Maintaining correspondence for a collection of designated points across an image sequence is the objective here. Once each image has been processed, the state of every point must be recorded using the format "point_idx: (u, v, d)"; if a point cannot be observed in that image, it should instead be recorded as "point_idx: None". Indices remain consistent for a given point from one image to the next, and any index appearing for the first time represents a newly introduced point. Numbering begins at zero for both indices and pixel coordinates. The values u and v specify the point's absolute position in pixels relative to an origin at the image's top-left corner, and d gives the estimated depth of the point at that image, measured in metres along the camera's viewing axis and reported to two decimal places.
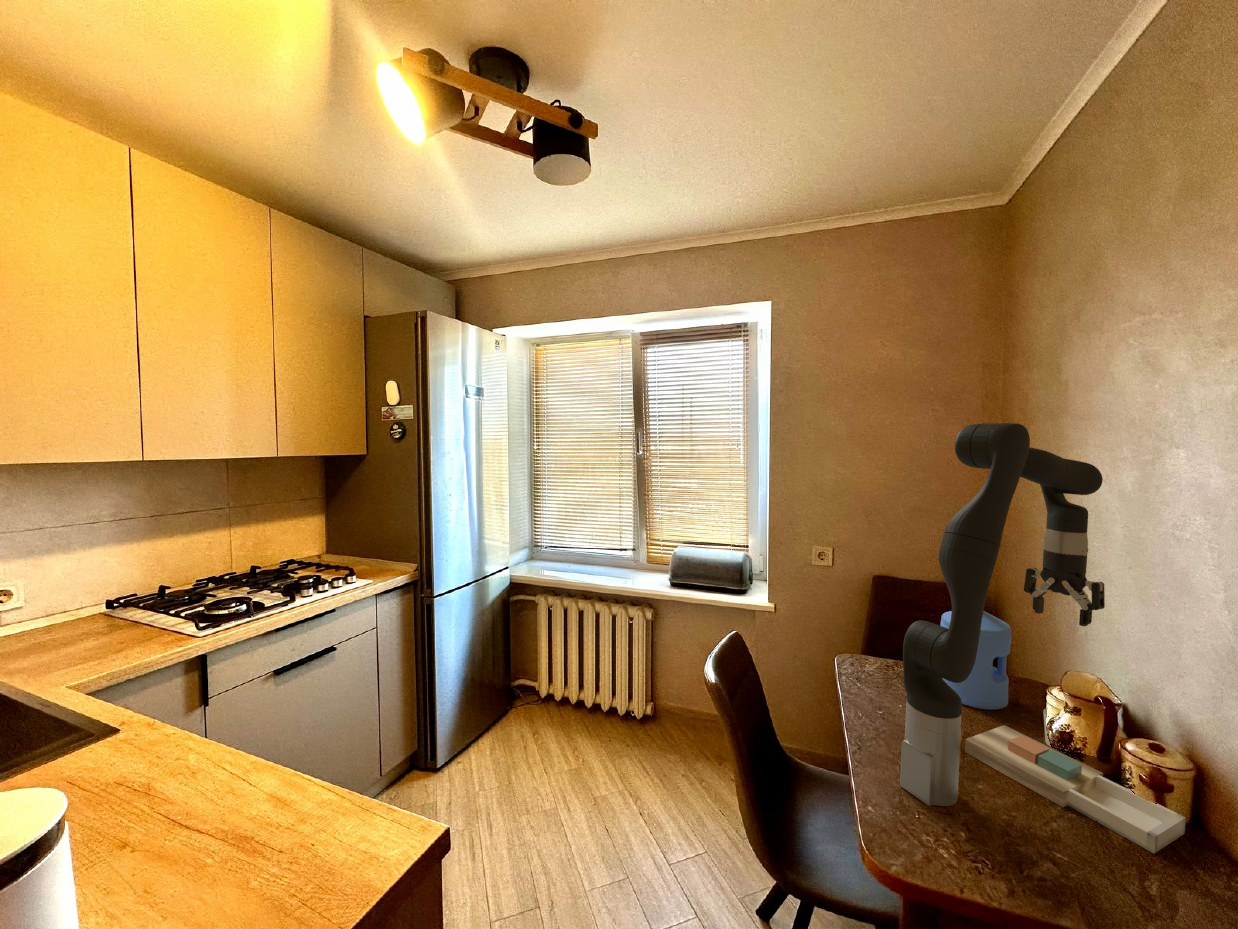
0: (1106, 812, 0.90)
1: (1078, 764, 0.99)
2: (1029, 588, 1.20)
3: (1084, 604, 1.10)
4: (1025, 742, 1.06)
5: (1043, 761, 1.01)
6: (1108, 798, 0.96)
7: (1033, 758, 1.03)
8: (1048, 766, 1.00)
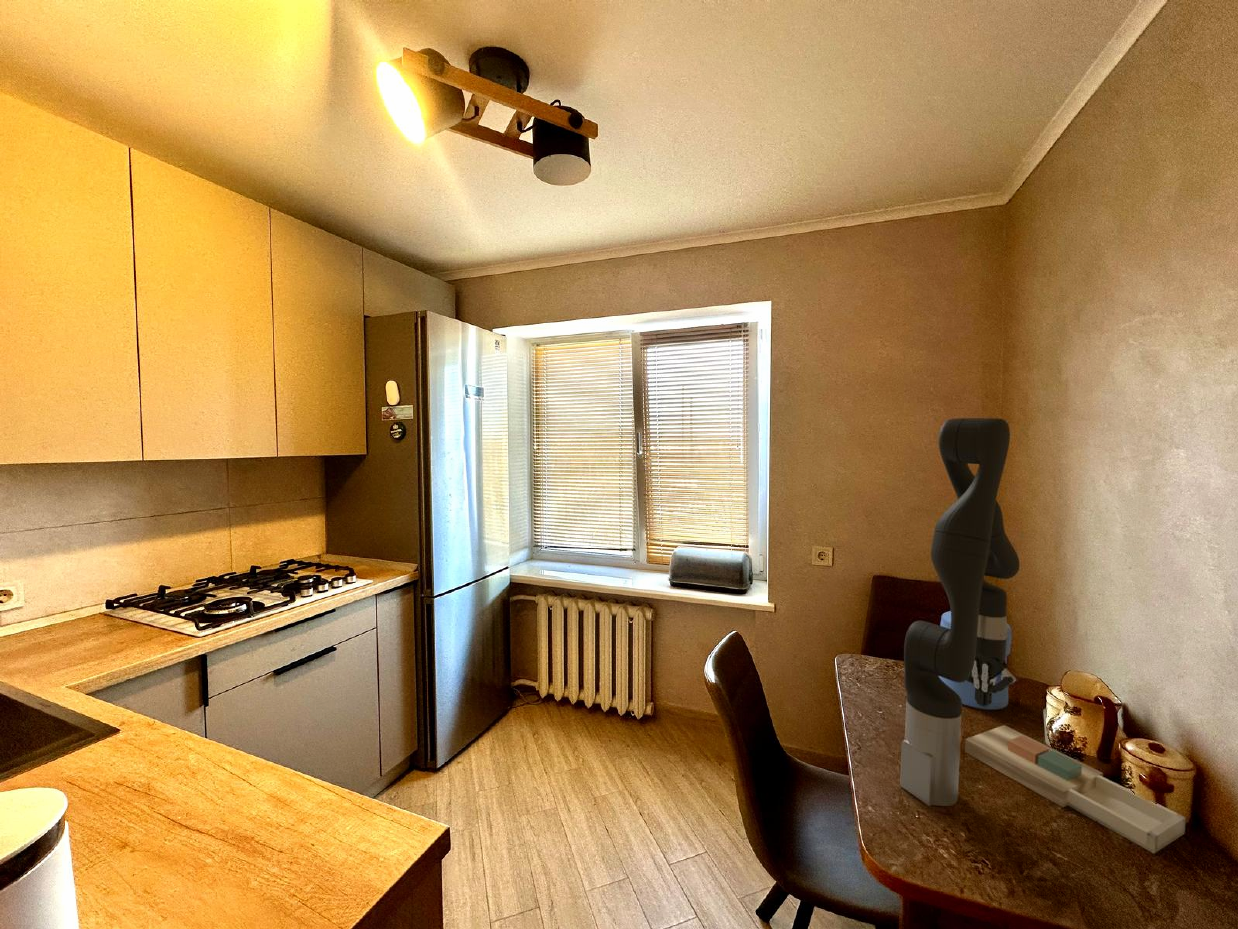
0: (1106, 812, 0.90)
1: (1078, 764, 0.99)
2: (969, 676, 1.16)
3: (984, 686, 1.13)
4: (1025, 742, 1.06)
5: (1043, 761, 1.01)
6: (1108, 798, 0.96)
7: (1033, 758, 1.03)
8: (1048, 766, 1.00)
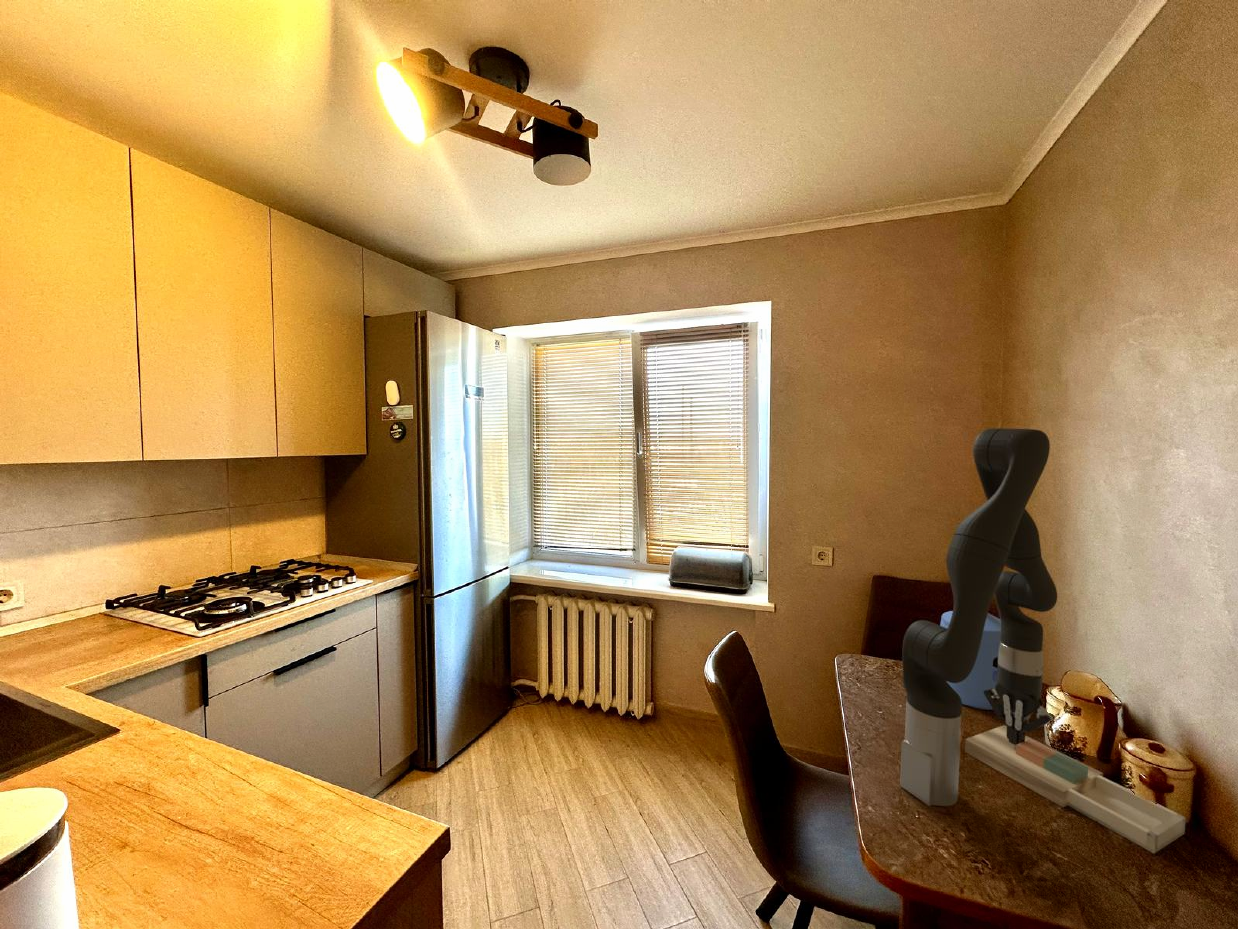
0: (1106, 812, 0.90)
1: (1084, 767, 0.98)
2: (1000, 712, 1.09)
3: (1017, 724, 1.06)
4: (1033, 746, 1.05)
5: (1049, 764, 1.00)
6: (1108, 798, 0.96)
7: (1042, 762, 1.01)
8: (1054, 769, 0.99)
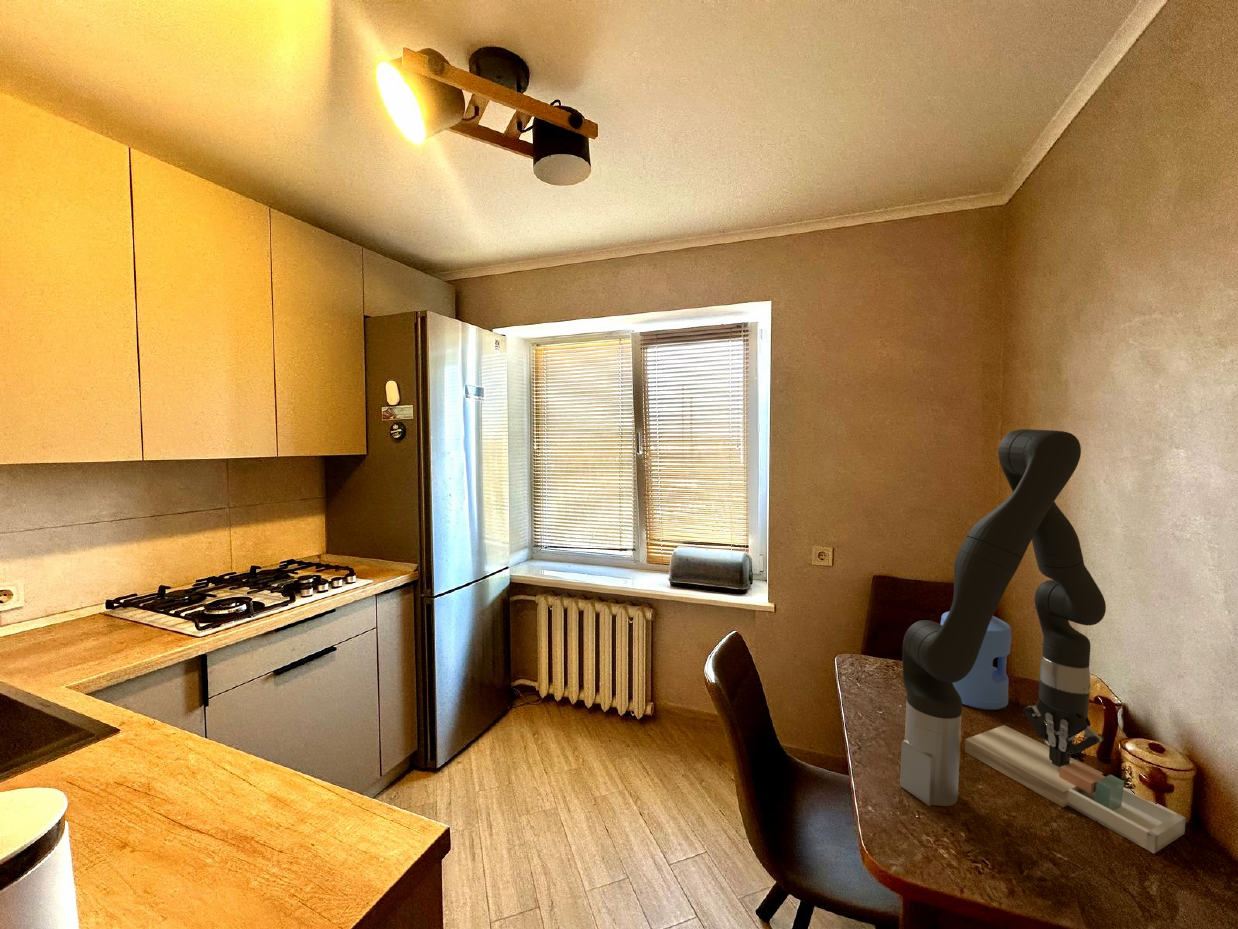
0: (1106, 812, 0.90)
1: (1120, 806, 0.94)
2: (1042, 732, 1.02)
3: (1061, 744, 0.99)
4: (1079, 769, 0.98)
5: (1106, 791, 0.92)
6: None
7: (1088, 787, 0.94)
8: (1101, 793, 0.93)
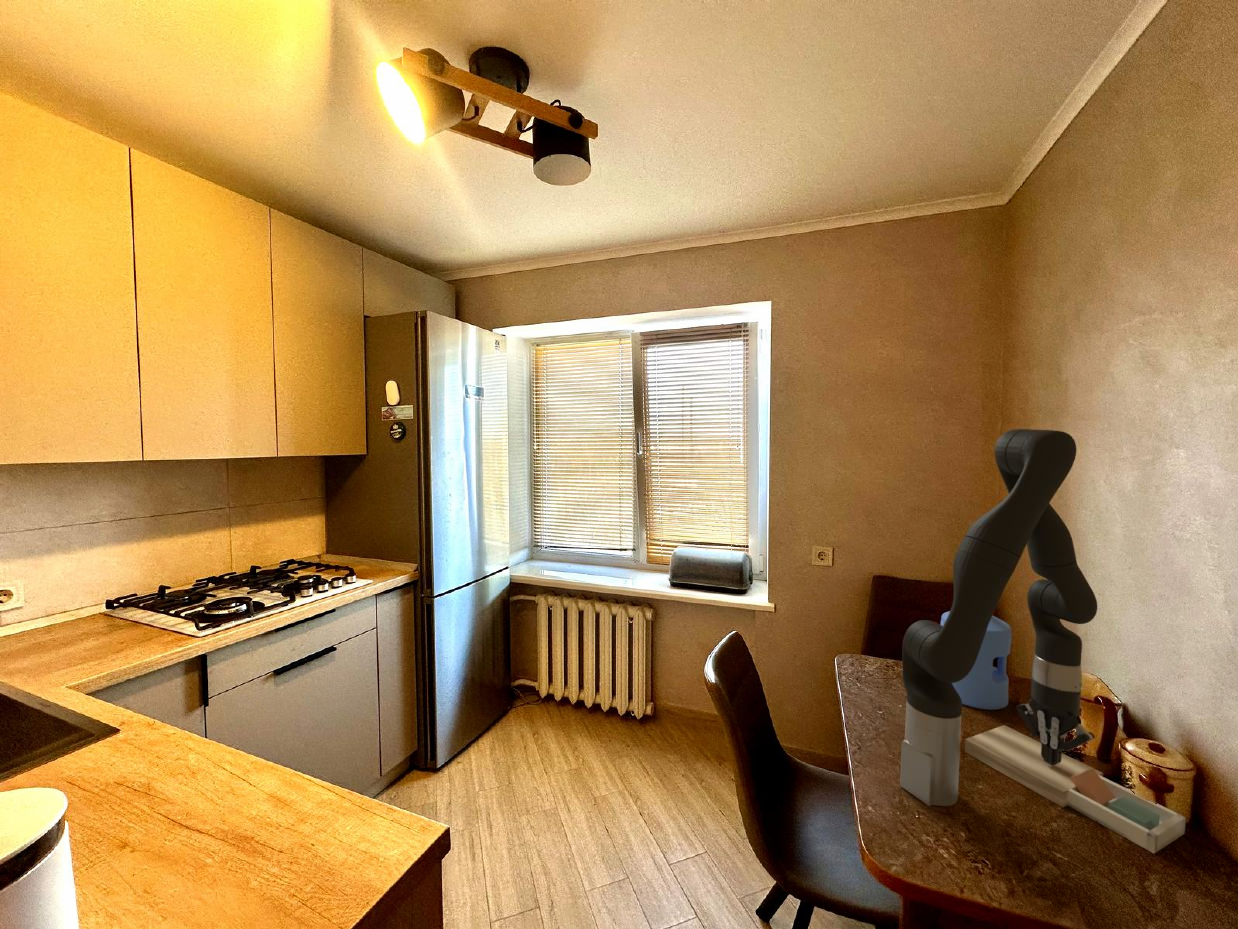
0: (1106, 812, 0.90)
1: None
2: (1034, 729, 1.03)
3: (1053, 742, 1.00)
4: (1094, 781, 0.95)
5: None
6: None
7: None
8: (1131, 820, 0.89)
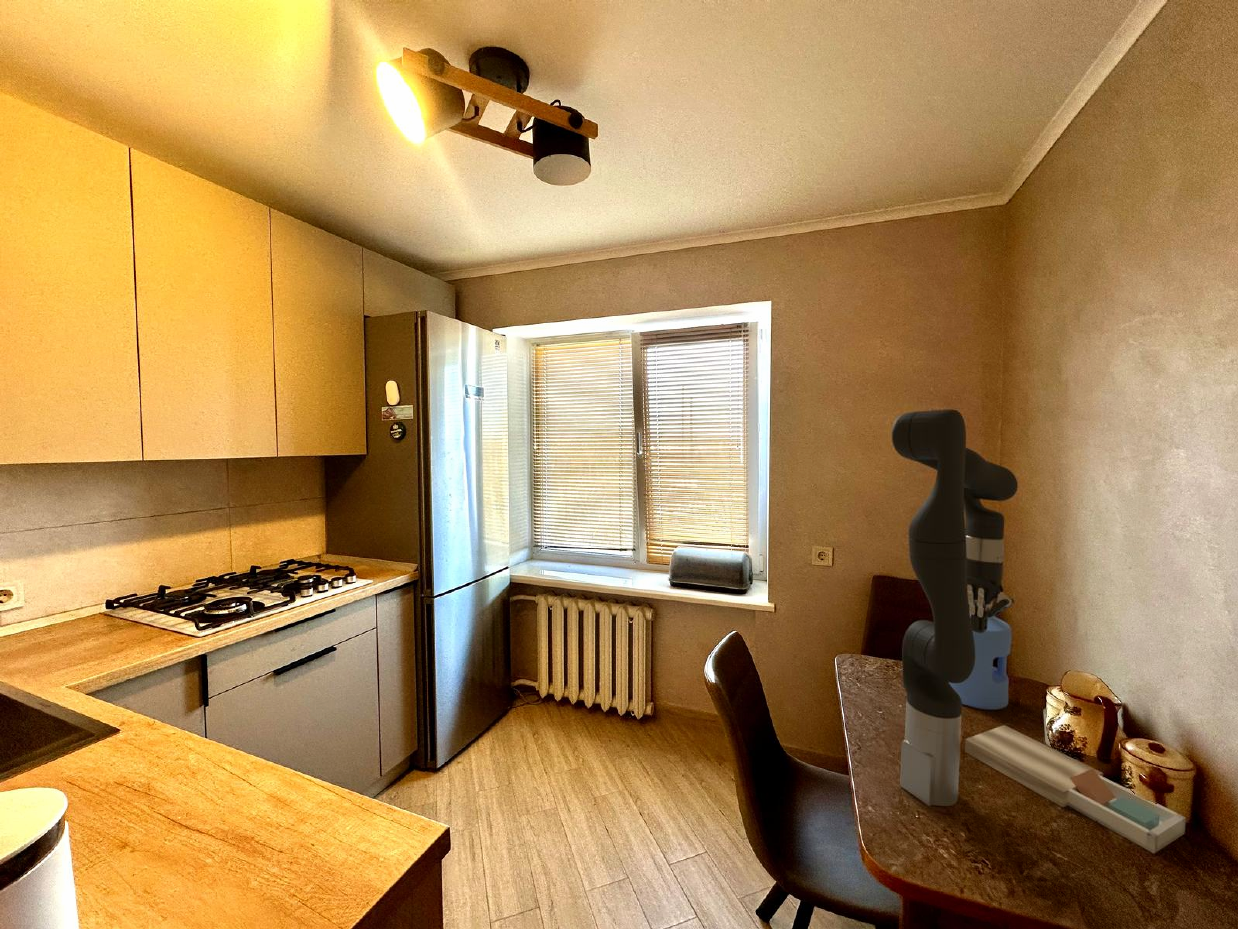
0: (1106, 812, 0.90)
1: None
2: None
3: (979, 611, 1.12)
4: (1094, 781, 0.95)
5: None
6: None
7: None
8: (1131, 820, 0.89)
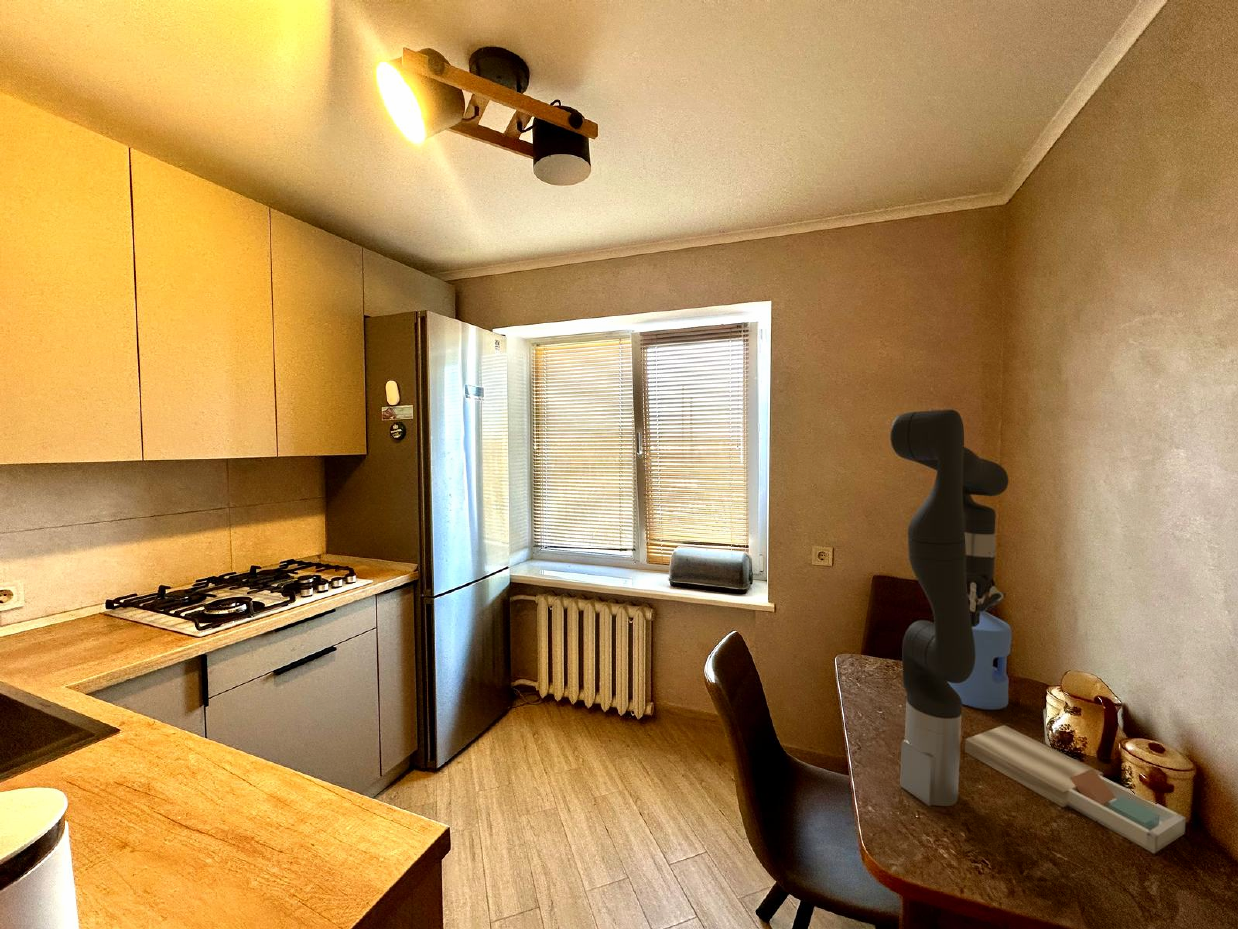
0: (1106, 812, 0.90)
1: None
2: None
3: (972, 605, 1.13)
4: (1094, 781, 0.95)
5: None
6: None
7: None
8: (1131, 820, 0.89)
